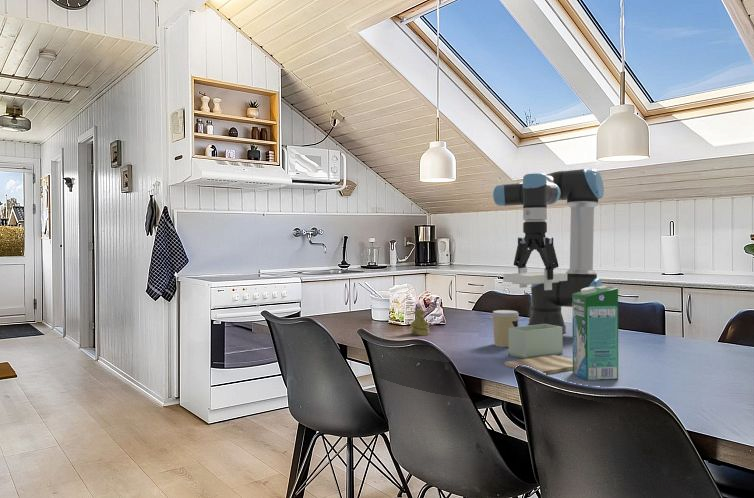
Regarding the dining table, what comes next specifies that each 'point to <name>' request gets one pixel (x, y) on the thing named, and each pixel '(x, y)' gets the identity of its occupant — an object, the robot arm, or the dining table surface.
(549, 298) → the robot arm
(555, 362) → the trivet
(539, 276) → the lid
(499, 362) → the dining table surface
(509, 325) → the coffee cup
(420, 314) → the olive green tiered cone
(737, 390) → the dining table surface
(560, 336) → the box
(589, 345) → the milk carton
